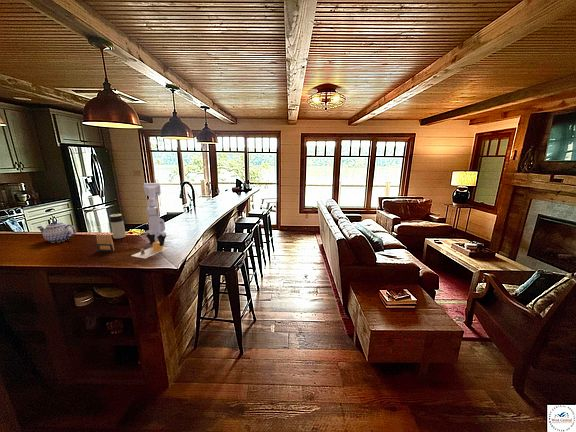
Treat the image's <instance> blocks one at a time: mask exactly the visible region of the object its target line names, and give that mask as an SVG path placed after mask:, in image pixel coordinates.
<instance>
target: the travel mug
mask: <svg viewBox="0 0 576 432" xmlns="http://www.w3.org/2000/svg"><path fill="white" fill-rule="evenodd" d="M109 217H110V219H109V221H110V228H111V233H112V237H113V238H112V239H117V240H118V239H119V240H120V239H123V238H125V237H127V236H126V230H125V229H126V228H125V224H124V223H125V222H124V218H123V217H122V213H113V214H110V215H109Z"/></svg>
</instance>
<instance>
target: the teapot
mask: <svg viewBox="0 0 576 432" xmlns="http://www.w3.org/2000/svg"><path fill="white" fill-rule="evenodd" d="M36 228H37V229H38V230H39V231H40V233H41V235H42V236H43V239H44V240H45V241H47V242H51V244H53V243H54V244H55V242H57V243H61V241H62V242H65V240H66V241H68V240H69V239H70V238H71V237H73V236H75V235H76V233H77V230H76V227H75V226H74V225H72V224H66V223H65V222H58V221H57V220H54V221H52V223H50V224H47V225H45V227H43V226H41V225H39V226H37V227H36ZM72 230H73V233H72ZM67 239H68V240H67Z"/></svg>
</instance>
